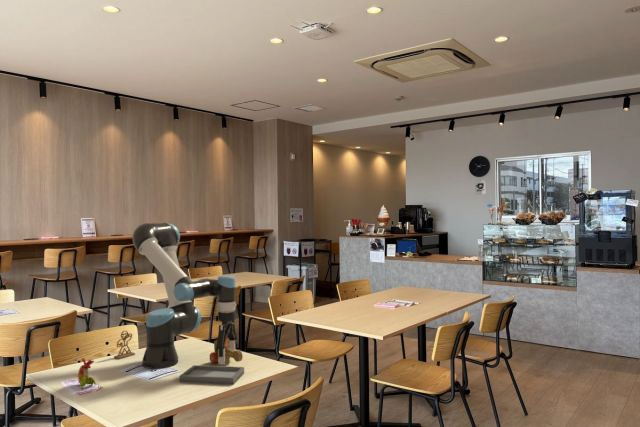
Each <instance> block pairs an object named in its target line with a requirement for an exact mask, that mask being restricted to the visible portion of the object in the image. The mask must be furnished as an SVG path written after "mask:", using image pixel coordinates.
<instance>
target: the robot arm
mask: <svg viewBox="0 0 640 427" xmlns="http://www.w3.org/2000/svg"><path fill="white" fill-rule="evenodd" d="M180 239H181V234H180V231H179V229H178V227H176V225H174V224H173V223H167V222H160V223H159V222H158V223H157V222H156V223H153V222H152V223H151V222H149V223H148V222H147V223H142V224H140V225H138V226H137V227H136V228H135V229H134V231H133V233H132V243H133V246H134V248H135V249H136V250H137V252H138V253H139V255H141V256H145V258H147V260H148V261H149V262H150V263H151V264H152V265H153V267H155V268H156V270H157V271H158V272H159V273H160V274H161V276H162V279H163V282H164V283H163V284H164V288H165V291H166V295H167V299H168V303H169V304H168V306H167V307H165V308H158V309H154V310H151V311H150V312H149V313H147V315H146V322H145V325H146V326H145V327H146V348H145V350H144V354H143V358H142V366H143V367H144V368H146V367H148V368H147V369H164V368H169V367H172V366H175V365H177V364H178V363H179V355H178V353H177V352H178V351H177V350H176V345H175V337H177V336H180V335H184V334H189V333H191V332H194V331H196V330H197V329H198V328H199V327H200V324H201V321H202V314H201V311H200V309H199V308H198V307H197V306H196V305H194V304H193V301H192V300H196V299H201V298H206V297H216V298H217V311H218V313H217V317H218V318H217V320H218V321H220V322H221V324H219V325H218V332H217V339H216V340H217V346H216V349H218V362H217V363H218V364H217V365H225V349H224V346H225V342H226V338H227V336H228V345H229V347H230V348H231V349H233V350H235V351H236V341H238V335H237V331H236V324H235V320H236V318H237V317H236V316H237V315H236V307H237V303H236V286H237V284H236V278H235V276H234V275H228V274H227V275H225V274H224V275H219V276H218V277H217V279H215V278H214V279H213V278H200V279H199V280H195V281H193V280H192V279H191V278H190V277H189V276H188V274H186V273H185V272H184V271H183V269H182V268H181V267H180V263H179V260H178V256H177V252H176V251H177V250H178V247H179V246H178V244H179V243H180Z"/></svg>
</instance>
